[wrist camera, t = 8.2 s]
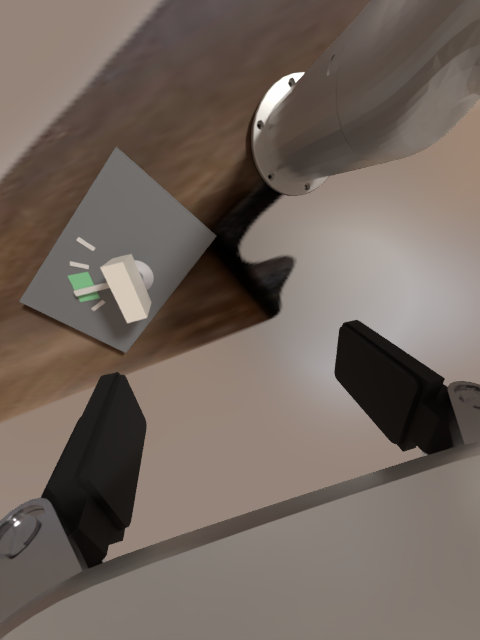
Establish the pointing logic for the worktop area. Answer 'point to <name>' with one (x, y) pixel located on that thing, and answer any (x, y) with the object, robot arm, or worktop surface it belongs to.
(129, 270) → the door lever handle
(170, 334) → the worktop surface
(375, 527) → the robot arm
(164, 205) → the dial board
